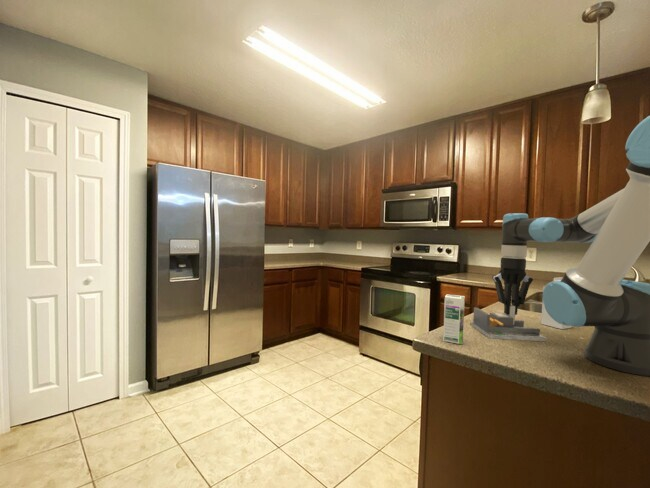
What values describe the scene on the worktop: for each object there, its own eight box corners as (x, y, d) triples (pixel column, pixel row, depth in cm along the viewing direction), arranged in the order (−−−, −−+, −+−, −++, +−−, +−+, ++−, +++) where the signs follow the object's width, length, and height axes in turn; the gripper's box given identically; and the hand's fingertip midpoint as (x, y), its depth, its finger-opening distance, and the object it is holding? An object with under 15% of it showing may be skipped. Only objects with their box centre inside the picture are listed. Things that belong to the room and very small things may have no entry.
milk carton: (540, 324, 115) (543, 276, 114) (551, 322, 118) (553, 275, 117) (561, 329, 109) (564, 279, 108) (572, 327, 112) (575, 278, 111)
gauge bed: (546, 341, 96) (547, 319, 95) (488, 338, 97) (489, 316, 97) (519, 326, 111) (520, 308, 110) (470, 324, 112) (471, 305, 112)
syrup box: (442, 341, 93) (444, 296, 92) (444, 336, 98) (446, 293, 97) (462, 345, 90) (464, 298, 90) (463, 339, 95) (465, 295, 95)
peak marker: (504, 334, 97) (504, 323, 97) (499, 333, 97) (499, 323, 97) (489, 325, 107) (490, 315, 106) (485, 324, 107) (485, 315, 107)
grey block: (512, 330, 101) (513, 317, 100) (497, 329, 101) (498, 316, 101) (503, 325, 107) (504, 312, 106) (489, 324, 107) (489, 312, 107)
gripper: (526, 257, 106) (522, 321, 107) (489, 256, 107) (486, 319, 108) (539, 258, 99) (536, 327, 99) (499, 257, 100) (496, 325, 101)
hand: (510, 323), depth 104 cm, fingers closed
